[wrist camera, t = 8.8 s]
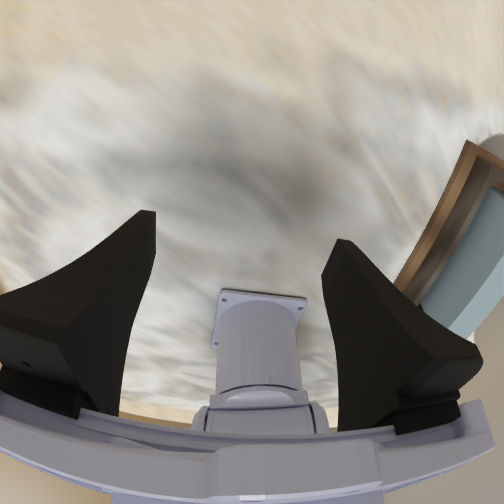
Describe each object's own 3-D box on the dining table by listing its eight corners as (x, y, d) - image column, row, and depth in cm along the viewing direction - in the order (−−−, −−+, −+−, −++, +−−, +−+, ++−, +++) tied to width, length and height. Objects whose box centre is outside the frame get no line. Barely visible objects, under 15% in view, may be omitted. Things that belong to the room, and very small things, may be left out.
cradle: (446, 308, 30) (454, 324, 28) (380, 303, 29) (387, 323, 27) (526, 176, 19) (542, 190, 17) (466, 139, 18) (486, 153, 16)
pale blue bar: (443, 295, 28) (466, 339, 23) (415, 292, 27) (437, 340, 22) (506, 193, 20) (545, 232, 15) (480, 179, 19) (523, 220, 14)
